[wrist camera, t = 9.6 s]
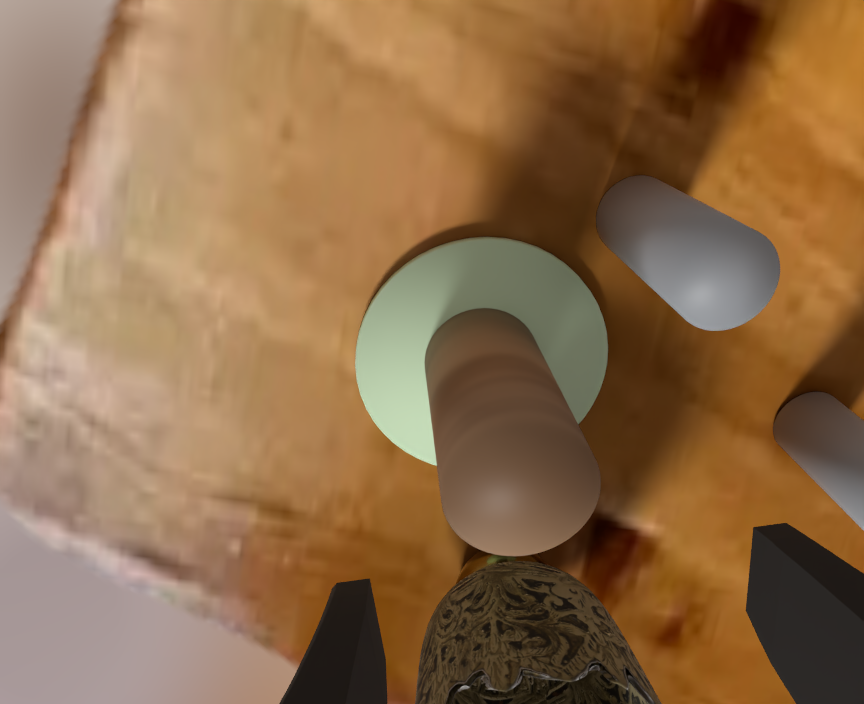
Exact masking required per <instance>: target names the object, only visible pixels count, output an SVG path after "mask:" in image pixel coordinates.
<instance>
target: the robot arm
mask: <svg viewBox="0 0 864 704" xmlns="http://www.w3.org/2000/svg"><path fill="white" fill-rule="evenodd" d="M746 612H747V614H748V616H749V618H750V620H751V623H752V625H753V627H754V629H755V631H756V633H757V636H758V638H759V640H760V642H761V644H762V646H763V648H764V650H765V652H766V654H767V656H768V658H769V660H770V662H771V664H772V666H773V667H774V669H775V670H776V672H777V674H778V675H779V677H780V679H781V680H782V682H783V683H784V685H785V686H786V688H787V690H788V691H789V693H790V694H791V696H792V698H793V699H794V701H795V702H796V704H864V574H863V573H862V572H860V571H859V570H857V569H856V568H854V567H853V566H851V565H850V564H848V563H847V562H845V561H844V560H842V559H840V558H839V557H837V556H836V555H834V554H833V553H831V552H830V551H828V550H827V549H825V548H824V547H822V546H821V545H819V544H818V543H816V542H815V541H813V540H812V539H810V538H809V537H807V536H806V535H804V534H803V533H801V532H800V531H798V530H796V529H795V528H793V527H792V526H790V525H788V524H787V523H782V524H774V525H767V526H759V527H754V528H753V538H752V549H751V560H750V571H749V582H748V593H747V604H746ZM280 704H387V682H386V659H385V654H384V649H383V644H382V639H381V634H380V628H379V623H378V618H377V613H376V608H375V603H374V598H373V593H372V588H371V583H370V579H363V580H356V581H348V582H341V583H337V584H336V585H335V586H334V587H333V588H332V591H331V594H330V596H329V599H328V602H327V605H326V607H325V610H324V612H323V615H322V617H321V620H320V622H319V625H318V627H317V629H316V631H315V634H314V636H313V638H312V640H311V643H310V645H309V647H308V649H307V651H306V653H305V655H304V657H303V659H302V661H301V663H300V666H299V668H298V670H297V672H296V674H295V676H294V678H293V680H292V682H291V684H290V685H289V687H288V689H287V691H286V693H285V695H284V696H283V698H282V700H281V702H280Z"/></svg>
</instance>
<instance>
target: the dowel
mask: <svg viewBox="0 0 864 704" xmlns="http://www.w3.org/2000/svg"><path fill="white" fill-rule="evenodd" d="M424 363H425V374H426V382H427V390H428V398H429V406H430V414H431V422H432V430H433V438H434V446H435V454H436V462H437V470H438V478H439V486H440V494H441V502H442V507H443V512H444V514H445V517H446V519H447V521H448V523H449V524H450V526H451V528H452V529H453V530H454V531H455V533H456V534H457V535H458V536H459V537H461V538H462V539H463V540H464V541H465V542H467V543H468V544H470V545H471V546H473V547H475V548H477V549H479V550H482V551H485V552H487V553H491V554H495V555H502V556H526V555H531V554H536V553H540V552H543V551H546V550H549V549H551V548H554V547H556V546H558V545H560V544H561V543H563V542H565V541H566V540H568V539H569V538H571V537H572V536H573V535H574V534H576V533H577V532H578V531H579V530H580V529H581V528H582V527H583V526H584V525H585V523H586V522H587V521H588V519H589V518H590V516H591V515H592V513H593V511H594V509H595V507H596V505H597V502H598V499H599V495H600V490H601V477H600V470H599V467H598V464H597V461H596V459H595V457H594V455H593V453H592V451H591V449H590V447H589V445H588V443H587V441H586V439H585V437H584V435H583V433H582V431H581V429H580V427H579V425H578V423H577V421H576V419H575V417H574V415H573V413H572V411H571V409H570V408H569V406H568V404H567V402H566V400H565V398H564V396H563V394H562V392H561V390H560V388H559V386H558V384H557V382H556V380H555V378H554V376H553V374H552V372H551V370H550V368H549V366H548V364H547V362H546V360H545V358H544V356H543V354H542V352H541V350H540V348H539V347H538V345H537V343H536V341H535V339H534V337H533V335H532V333H531V332H530V330H529V329H528V327H527V326H526V325H525V324H524V323H523V322H522V321H521V320H519V319H518V318H516V317H515V316H513V315H511V314H509V313H507V312H505V311H501V310H498V309H492V308H477V309H472V310H467V311H464V312H461V313H459V314H457V315H455V316H453V317H452V318H450V319H448V320H447V321H446V322H445V323H443V324H442V325H441V326H440V327H439V328H438V329H437V330H436V332H435V333H434V335H433V336H432V338H431V340H430V341H429V344H428V346H427V349H426V354H425V362H424Z"/></svg>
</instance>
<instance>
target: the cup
mask: <svg viewBox="0 0 864 704" xmlns="http://www.w3.org/2000/svg"><path fill="white" fill-rule="evenodd" d="M415 704H661V702H660V700H659V699H658V697H657V695H656V693H655V691H654V690H653V688H652V686H651V684H650V682H649V680H648V679H647V677H646V675H645V673H644V671H643V670H642V668H641V666H640V664H639V662H638V661H637V659H636V657H635V655H634V654H633V652H632V650H631V648H630V647H629V645H628V643H627V641H626V640H625V638H624V636H623V635H622V633H621V631H620V630H619V628H618V626H617V625H616V623H615V622H614V620H613V619H612V617H611V616H610V614H609V613H608V611H607V610H606V609H605V607H604V606H603V605H602V603H601V602H600V601H599V600H598V599H597V597H596V596H595V595H594V594H593V593H592V592H591V591H590V590H589V589H588V588H587V587H586V586H584V585H583V584H582V583H581V582H579V581H578V580H577V579H576V578H574V577H573V576H571V575H569V574H568V573H566V572H563V571H561V570H559V569H557V568H555V567H552V566H549V565H547V563H546V562H545V561H544V560H543V559H542V558H541V557H539V556H538V555H537V554H531V555H526V556H502V555H495V554H491V553H487V552H485V551H480V552H478V553H477V554H475V555H474V556H473V557H472V558H470V559H469V560H468V562H467V563H466V564H465V565H464V567H463V569H462V570H461V572H460V574H459V577H458V579H457V582H456V585H455V586H454V587H453V588H452V589H451V590H450V591H449V592H448V593H447V594H446V595H445V596H444V598H443V599H442V600H441V602H440V603H439V604H438V606H437V608H436V609H435V611H434V613H433V615H432V617H431V619H430V622H429V624H428V627H427V630H426V634H425V637H424V641H423V645H422V650H421V656H420V663H419V672H418V680H417V691H416V702H415Z"/></svg>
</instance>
